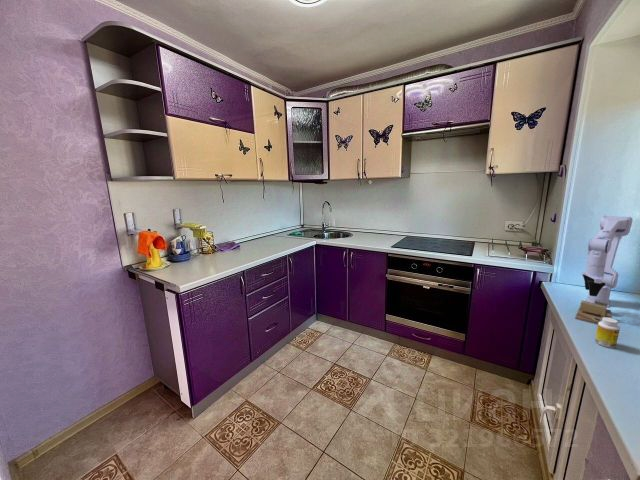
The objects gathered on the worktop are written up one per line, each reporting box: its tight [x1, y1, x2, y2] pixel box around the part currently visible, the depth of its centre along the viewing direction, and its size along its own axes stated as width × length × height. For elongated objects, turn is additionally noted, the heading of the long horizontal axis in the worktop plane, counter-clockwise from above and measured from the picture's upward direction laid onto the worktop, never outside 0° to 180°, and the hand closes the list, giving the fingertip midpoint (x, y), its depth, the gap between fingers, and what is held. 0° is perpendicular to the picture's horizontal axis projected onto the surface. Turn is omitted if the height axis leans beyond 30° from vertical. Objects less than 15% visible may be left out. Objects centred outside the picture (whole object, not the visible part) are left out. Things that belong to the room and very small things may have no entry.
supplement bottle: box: [594, 317, 621, 349], centre depth 99 cm, size 6×6×10 cm
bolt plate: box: [574, 307, 612, 326], centre depth 121 cm, size 19×10×1 cm, turn 130°
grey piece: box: [594, 299, 608, 322], centre depth 119 cm, size 16×4×5 cm, turn 130°
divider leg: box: [579, 300, 608, 316], centre depth 120 cm, size 3×8×5 cm, turn 40°
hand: (590, 292), depth 121 cm, fingers open, 7 cm apart
